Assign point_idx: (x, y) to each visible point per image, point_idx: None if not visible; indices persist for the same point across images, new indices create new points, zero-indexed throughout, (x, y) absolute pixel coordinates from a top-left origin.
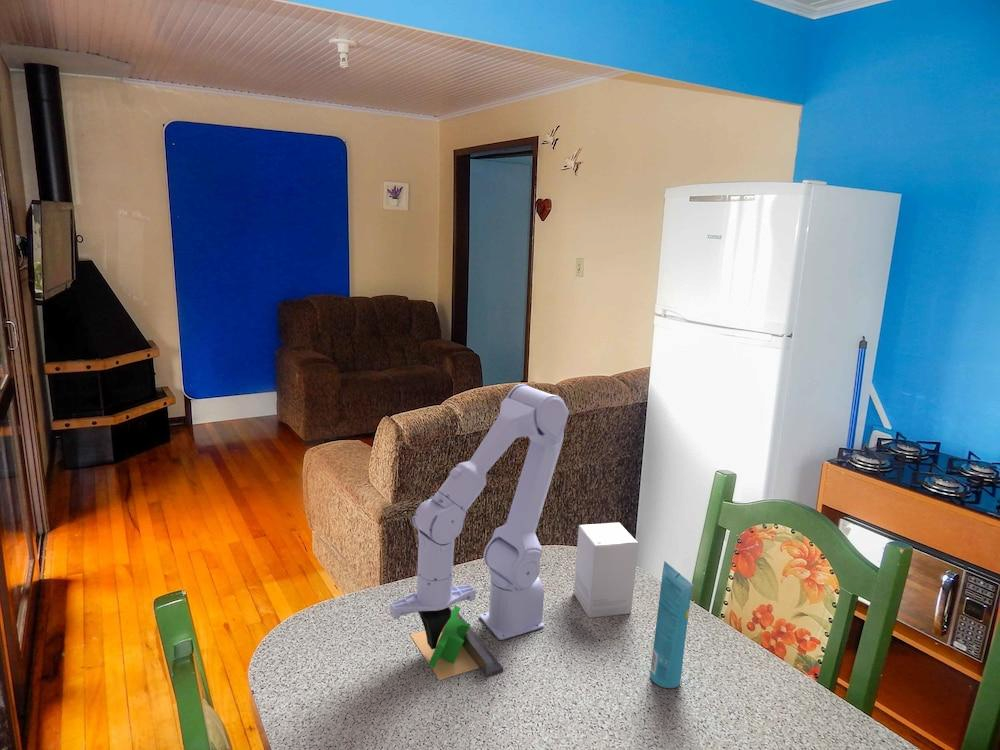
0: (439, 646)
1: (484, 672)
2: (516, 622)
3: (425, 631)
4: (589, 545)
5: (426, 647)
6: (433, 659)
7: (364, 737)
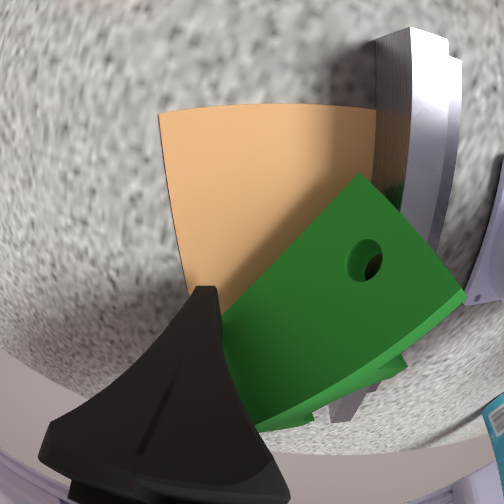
0: None
1: None
2: None
3: (172, 320)
4: None
5: (209, 234)
6: None
7: (67, 386)
